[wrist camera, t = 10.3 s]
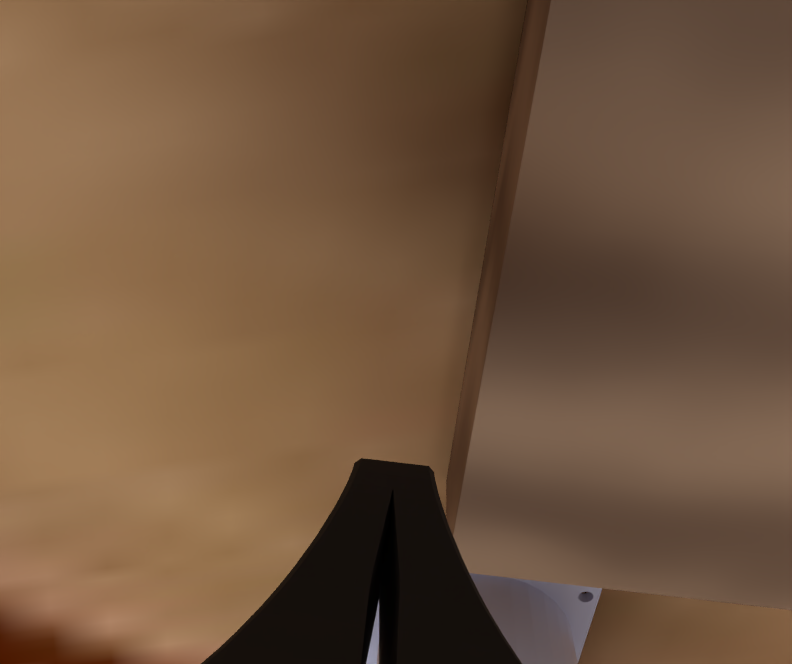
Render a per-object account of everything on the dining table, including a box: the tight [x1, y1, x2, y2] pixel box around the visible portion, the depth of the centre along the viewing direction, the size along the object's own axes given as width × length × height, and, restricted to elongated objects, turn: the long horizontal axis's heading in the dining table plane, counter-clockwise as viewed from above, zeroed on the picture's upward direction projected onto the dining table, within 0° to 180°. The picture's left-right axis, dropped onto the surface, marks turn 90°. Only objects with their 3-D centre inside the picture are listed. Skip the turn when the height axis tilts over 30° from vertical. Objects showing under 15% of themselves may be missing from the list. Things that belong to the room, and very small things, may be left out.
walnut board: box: [446, 0, 792, 610], centre depth 19 cm, size 18×12×4 cm, turn 174°
